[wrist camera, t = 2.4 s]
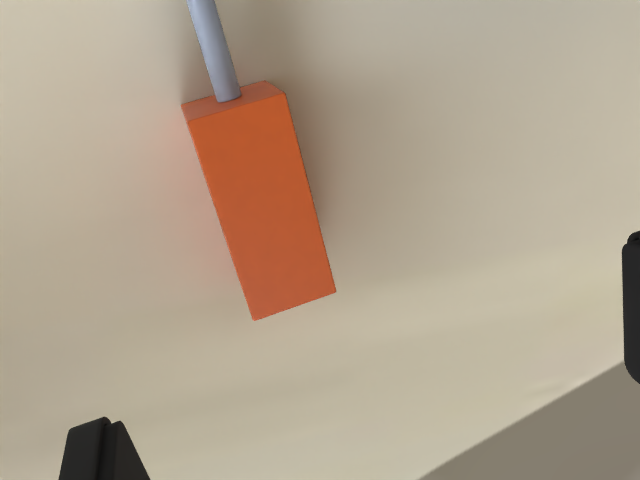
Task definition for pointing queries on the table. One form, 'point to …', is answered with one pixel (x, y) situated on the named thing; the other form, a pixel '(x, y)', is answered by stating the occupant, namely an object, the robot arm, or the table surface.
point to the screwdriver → (256, 180)
